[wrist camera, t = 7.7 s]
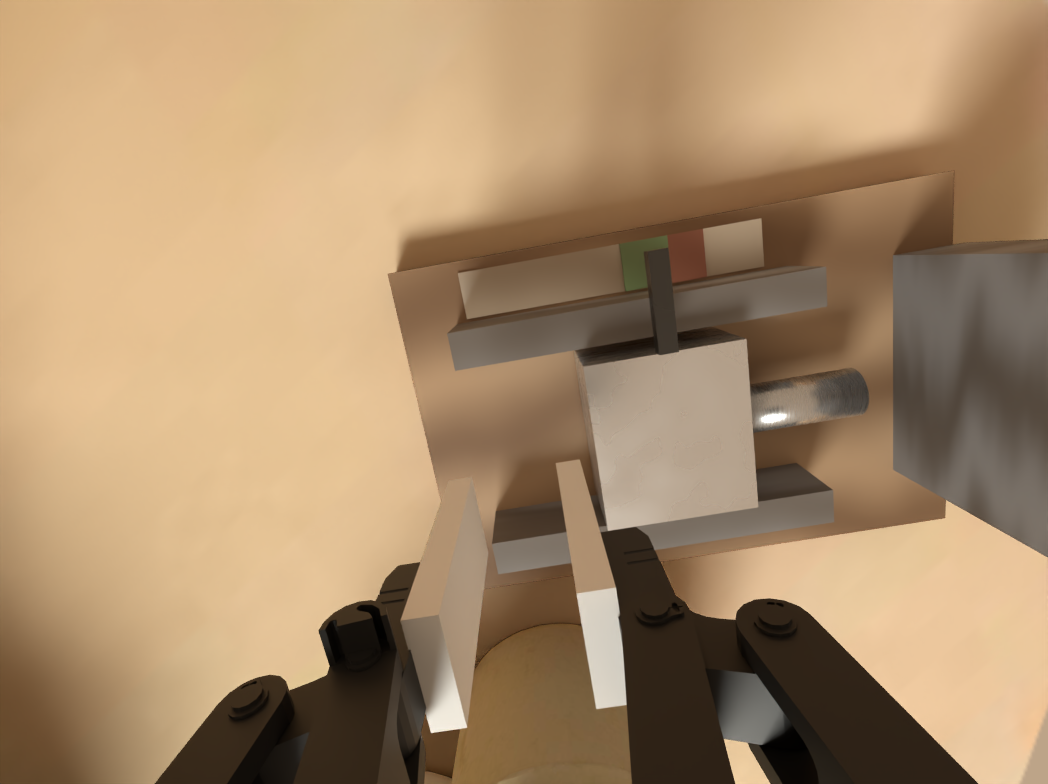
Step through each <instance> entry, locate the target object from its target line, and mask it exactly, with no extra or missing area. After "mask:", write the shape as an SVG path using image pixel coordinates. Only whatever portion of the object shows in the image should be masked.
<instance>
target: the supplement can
mask: <svg viewBox="0 0 1048 784" xmlns="http://www.w3.org/2000/svg"><path fill="white" fill-rule="evenodd" d="M451 783H452V779H451V778H450V777H447V776H443V775H440V774H436V773H433V772H425V780H424V784H451Z"/></svg>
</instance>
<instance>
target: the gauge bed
mask: <svg viewBox="0 0 1048 784" xmlns="http://www.w3.org/2000/svg"><path fill="white" fill-rule="evenodd" d="M953 206H954V171H948V172H943V173H937V174H932V175H926V176H921V177H916V178H910V179H905V180H899V181H894V182H888V183H883V184H877V185H872V186H866V187H861V188H855V189H850V190H844V191H839V192H833V193H828V194H822V195H817V196H811V197H806V198H801V199H795V200H790V201H784V202H779V203H773V204H768V205H762V206H757V207H751V208H746V209H740V210H735V211H729V212H724V213H718V214H713V215H707V216H702V217H696V218H691V219H685V220H680V221H675V222H669V223H664V224H658V225H653V226H647V227H642V228H636V229H631V230H625V231H620V232H614V233H609V234H603V235H598V236H592V237H587V238H581V239H576V240H570V241H565V242H559V243H554V244H549V245H543V246H538V247H532V248H527V249H521V250H516V251H510V252H505V253H499V254H494V255H488V256H483V257H477V258H472V259H466V260H461V261H455V262H450V263H444V264H439V265H434V266H428V267H423V268H417V269H412V270H406V271H401V272H395V273H390V274H388V277H389V282H390V286H391V290H392V294H393V299H394V303H395V307H396V311H397V316H398V320H399V324H400V328H401V333H402V337H403V341H404V345H405V350H406V354H407V358H408V362H409V367H410V371H411V375H412V380H413V384H414V388H415V392H416V397H417V401H418V405H419V409H420V414H421V418H422V422H423V426H424V431H425V435H426V439H427V443H428V448H429V452H430V456H431V460H432V465H433V469H434V473H435V477H436V482H437V486H438V490H439V495H440V499H441V501H442V498H443V495H444V492H445V489H446V486H447V483H448V481H450V480H456V479H462V478H469V477H472V480H473V484H474V489H475V494H476V498H477V503H478V508H479V512H480V517H481V521H482V526H483V531H484V535H485V540H486V545H487V549H488V560H487V568H486V576H485V584H484V589H488V588H495V587H501V586H508V585H514V584H521V583H527V582H534V581H540V580H547V579H553V578H560V577H566V576H573V569H572V563H571V556H570V550H569V544H568V537H567V531H566V525H565V519H564V512H563V506H562V500H561V493H560V487H559V481H558V474H557V468H556V463H560V462H566V461H572V460H578V459H580V462H581V466H582V469H583V473H584V477H585V480H586V484H587V487H588V491H589V494H590V498H591V501H592V505H593V508H594V512H595V515H596V519H597V522H598V526H599V530H600V532H605V531H608V529H607V526H606V523H605V520H604V516H603V513H602V510H601V507H600V504H599V500H598V497H597V494H596V491H595V487H594V480H593V474H592V467H591V461H590V454H589V448H588V441H587V435H586V428H585V422H584V415H583V409H582V402H581V396H580V389H579V383H578V376H577V370H576V363H575V357H574V350H579V349H585V348H590V347H596V346H602V345H608V344H614V343H619V342H625V341H631V340H637V339H642V338H648V337H653V329H652V320H651V312H650V303H649V294H648V286H647V277H646V268H645V260H644V251H650V250H655V249H661V248H668V249H669V259H670V269H671V278H672V288H673V298H674V307H675V317H676V327H677V332H683V331H689V330H694V329H700V328H706V327H714V328H717V329H720V330H723V331H725V332H728V333H731V334H734V335H737V336H740V337H743V338H745V339H747V353H748V367H749V381H750V384H755V383H761V382H767V381H773V380H779V379H785V378H791V377H797V376H803V375H809V374H815V373H821V372H827V371H833V370H839V369H845V368H854V369H856V370H857V371H858V372H859V373H860V374H861V375H862V376H863V378H864V380H865V382H866V384H867V387H868V391H869V404H868V408H867V410H866V412H865V413H864V414H862V415H859V416H853V417H847V418H841V419H835V420H828V421H822V422H816V423H810V424H804V425H798V426H792V427H786V428H780V429H774V430H767V431H761V432H755V433H753V438H754V452H755V466H756V480H757V495H758V507H757V508H750V509H744V510H738V511H731V512H725V513H719V514H712V515H706V516H700V517H693V518H687V519H681V520H674V521H668V522H662V523H655V524H649V525H643V526H636V527H637V528H638V529H640V530H641V531H642V532H644V533H645V534H647V535H648V536H649V538H650V540H651V543H652V545H653V547H654V550H655V551H656V554H657V556H658V559H659V560H660V562H664V561H670V560H676V559H683V558H689V557H696V556H702V555H709V554H715V553H722V552H728V551H735V550H741V549H748V548H754V547H761V546H767V545H774V544H780V543H787V542H793V541H800V540H806V539H813V538H819V537H826V536H832V535H839V534H845V533H852V532H858V531H865V530H871V529H877V528H884V527H890V526H897V525H903V524H910V523H916V522H923V521H929V520H936V519H942V518H945V507H946V500H947V501H949V502H951V503H953V504H954V505H956V506H958V507H960V508H961V509H963V510H965V511H967V512H969V513H970V514H972V515H974V516H976V517H977V518H979V519H981V520H983V521H984V522H986V523H988V524H990V525H991V526H993V527H995V528H997V529H999V530H1000V531H1002V532H1004V533H1006V534H1007V535H1009V536H1011V537H1013V538H1014V539H1016V540H1018V541H1020V542H1022V543H1023V544H1025V545H1027V546H1029V547H1030V548H1032V549H1034V550H1036V551H1037V552H1039V553H1041V554H1043V555H1044V556H1046V557H1048V239H1043V240H1019V241H995V242H971V243H960V244H955V245H952V244H953ZM630 528H631V527H630ZM617 530H618V529H617ZM611 531H612V530H611Z"/></svg>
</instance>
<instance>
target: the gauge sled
mask: <svg viewBox="0 0 1048 784" xmlns="http://www.w3.org/2000/svg"><path fill="white" fill-rule="evenodd" d="M644 260H645V268H646V277H647V286H648V294H649V303H650V312H651V320H652V329H653V337H648V338H642V339H637V340H631V341H625V342H619V343H614V344H608V345H602V346H596V347H590V348H585V349H579V350H574V357H575V363H576V370H577V376H578V383H579V389H580V396H581V402H582V409H583V415H584V422H585V428H586V435H587V441H588V448H589V454H590V461H591V467H592V474H593V480H594V487H595V491H596V494H597V497H598V500H599V504H600V507H601V510H602V513H603V516H604V520H605V523H606V526H607V529H608V531H611V530H617V529H624V528H630V527H636V526H643V525H649V524H655V523H662V522H668V521H674V520H681V519H687V518H693V517H700V516H706V515H712V514H719V513H725V512H731V511H738V510H744V509H750V508H757V507H758V495H757V480H756V466H755V452H754V438H753V433H755V432H761V431H767V430H774V429H780V428H786V427H792V426H798V425H804V424H810V423H816V422H822V421H828V420H835V419H841V418H847V417H853V416H859V415H862V414H864V413H865V412H866V410H867V408H868V404H869V391H868V387H867V384H866V382H865V380H864V378H863V376H862V375H861V374H860V373H859V372H858V371H857V370H856V369H854V368H845V369H839V370H833V371H827V372H821V373H815V374H809V375H803V376H797V377H791V378H785V379H779V380H773V381H767V382H761V383H755V384H750V381H749V367H748V353H747V339H745V338H743V337H740V336H737V335H734V334H731V333H728V332H725V331H723V330H720V329H717V328H714V327H706V328H700V329H694V330H689V331H683V332H677V327H676V317H675V307H674V298H673V288H672V278H671V269H670V259H669V249H668V248H661V249H655V250H650V251H644Z"/></svg>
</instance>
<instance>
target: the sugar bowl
mask: <svg viewBox="0 0 1048 784" xmlns="http://www.w3.org/2000/svg"><path fill="white" fill-rule="evenodd" d="M451 784H632V779H631V764H630V749H629V734H628V719H627V705H622V706H615V707H608V708H601V709H596V704H595V698H594V692H593V687H592V681H591V675H590V669H589V663H588V658H587V652H586V646H585V640H584V634H583V629H582V626H581V625H575V624H562V623H559V624H547V625H540V626H536V627H532V628H529V629H526V630H523V631H520V632H518V633H516V634H514V635H512V636H510V637H508V638H506V639H505V640H503V641H502V642H500V643H499V644H498V645H496V646H495V647H493V648H492V649H491V650H490V651H489V652H488V653H487V654H486V655H485V656H484V657H483V658H482V660H481V661H480V662H479V664H478V665H477V667H476V668H475V670H474V675H473V683H472V691H471V700H470V708H469V716H468V724H467V728H462V729H460V733H459V738H458V744H457V750H456V756H455V763H454V769H453V776H452V783H451Z"/></svg>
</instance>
